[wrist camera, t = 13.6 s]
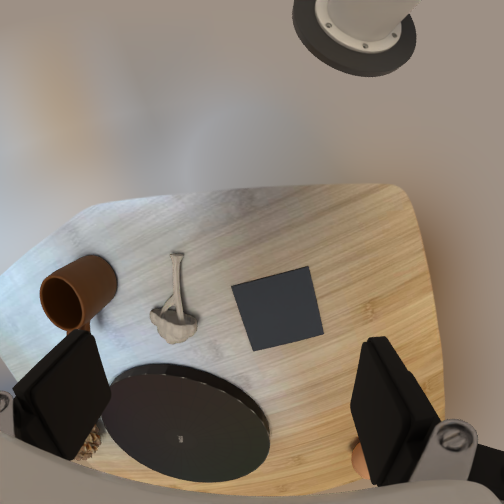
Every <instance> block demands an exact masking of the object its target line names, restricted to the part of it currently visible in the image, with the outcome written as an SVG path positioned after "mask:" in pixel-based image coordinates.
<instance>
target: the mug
mask: <svg viewBox="0 0 504 504" xmlns="http://www.w3.org/2000/svg"><path fill="white" fill-rule="evenodd" d="M116 289H117V282H116V276H115V274H114V271H113V269H112V268H111V266H110V265H109V264H108V263H107V262H106V261H105V260H104V259H102V258H100V257H98V256H94V255H88V256H84V257H81V258H79V259H78V260H76V261H74V262H71V263H70V264H68V265H66V266H64V267H62V268H60V269H58V270H56V271H55V272H53V273H52V274H51V275H49V276H48V277H46V278H45V279H44V281H43V282H42V284H41V287H40V301H41V305H42V307H43V310H44V312H45V314H46V315H47V317H48V318H49V319H50V321H51V322H52V323H53V324H54V325H56V326H57V327H59V328H60V329H62V330H65V331H67V335H68V334H69V333H70V332H72V331H73V330H74V329H80V330H87V331H89V332H90V320H91V319H92V318H93V317H94V316H95V315H96V314H97V313H98V312H100V311H101V310H102V309H103V308H104V307H105V306H106V305H107V304H108V303H109V302H110V301H111V300H112V299H113V297H114V295H115V293H116Z"/></svg>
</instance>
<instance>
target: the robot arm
mask: <svg viewBox="0 0 504 504" xmlns="http://www.w3.org/2000/svg"><path fill="white" fill-rule="evenodd" d="M420 1H421V0H316V3H315V16H316V18H317V21H318V23H319V25H320V26H321V28H322V29H323V30H324V32H325V33H326V34H327V35H328V36H329V37H330V38H332V39H333V40H334V41H335V42H337V43H339V44H340V45H342V46H344V47H346V48H348V49H350V50H353V51H356V52H361V53H370V54H375V53H381V52H384V51H386V50H388V49H390V48H391V47H393V46H394V45H395V44H396V43H397V41H398V40H399V38H400V35H401V21H402V20H403V19H404V18H405V17H406V16H407V15H408V14H409V13H410V12H411V11H412V9H414V7H416V6H417V4H418V3H419V2H420ZM328 27H329V28H328ZM363 47H364V48H363ZM13 391H14V393H15V395H16V397H15V398H14V399H13V397H12V395H11V394H10V393H8V392H6V391H0V504H504V451H501V450H497V449H494V448H490V447H487V446H484V445H481V444H478V435H477V432H476V430H475V429H474V428H473V426H471V425H470V424H469V423H467V422H465V421H463V420H459V419H447V420H444V421H441V420H440V418H439V417H438V415H437V413H436V412H435V410H434V408H433V407H432V405H431V403H430V402H429V400H428V398H427V397H426V395H425V393H424V392H423V390H422V389H421V387H420V385H419V384H418V382H417V380H416V379H415V377H414V376H413V374H412V373H411V372H410V371H408V370H407V368H406V367H405V365H404V364H403V362H402V361H401V359H400V357H399V356H398V354H397V353H396V351H395V350H394V348H393V347H392V345H391V343H390V342H389V340H388V339H387V338H386V337H385V336H382V337H370V338H368V340H367V342H363V344H362V348H361V353H360V359H359V364H358V369H357V374H356V379H355V384H354V389H353V393H352V398H351V403H350V408H351V413H352V417H353V420H354V423H355V427H356V430H357V433H358V437H359V440H360V444H361V447H362V451H363V454H364V458H365V461H366V465H367V468H368V472H369V476H370V480H371V482H372V484H373V485H376V484H377V486H378V487H375V488H369V489H362V490H355V491H348V492H340V493H330V494H319V495H303V496H237V495H222V494H211V493H202V492H194V491H186V490H180V489H174V488H168V487H162V486H157V485H152V484H147V483H143V482H138V481H134V480H130V479H126V478H122V477H118V476H115V475H111V474H108V473H104V472H101V471H98V470H95V469H91V468H88V467H85V466H82V465H79V464H77V463H74V462H71V460H73V459H75V457H76V456H77V454H78V452H79V451H80V449H81V447H82V446H83V444H84V442H85V441H86V439H87V437H88V436H89V434H90V432H91V431H92V429H93V427H94V426H95V424H96V422H97V421H98V419H99V418H100V416H101V414H102V413H103V411H104V410H105V408H106V406H107V405H108V403H109V402H110V400H111V390H110V387H109V384H108V381H107V378H106V375H105V372H104V368H103V365H102V362H101V359H100V355H99V352H98V348H97V345H96V341H95V338H94V336H93V335H91V333H90V332H89V331H87V330H80V329H74V330H73V331H72V332H70V333H69V334H68V335H67V336H66V337H65V338H64V339H63V340H62V341H61V342H60V343H58V344H57V345H56V346H55V347H54V348H53V349H52V350H51V351H50V352H49V353H48V354H47V355H46V356H45V357H44V358H43V359H42V360H40V361H39V362H38V363H37V364H36V365H35V366H34V367H33V368H32V369H31V370H30V371H29V372H28V373H27V374H26V375H25V376H24V377H23V378H22V379H21V380H20V381H19V382H18V383H17V384H16V385H15V386H14V387H13Z"/></svg>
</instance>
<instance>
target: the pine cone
mask: <svg viewBox="0 0 504 504" xmlns="http://www.w3.org/2000/svg"><path fill="white" fill-rule="evenodd" d="M98 432H99V429H98V428H97V426H96V424H95V426H94V427H93V429H92V431H91V432H90V434H89V436H88V437H87V439H86V441H85V442H84V444H83V446H82V447H81V449H80V451H79V452H78V454H77V456H76V457H75V459H76V460H77V461H80V460H81V459H83V460H87V458H90V457H91V458H92V454H94V453H96V451H97V450H98V449H97V448H98V447H99V445H101V441H100V438H101V437H100V436H99V435H98V434H97V433H98Z"/></svg>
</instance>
